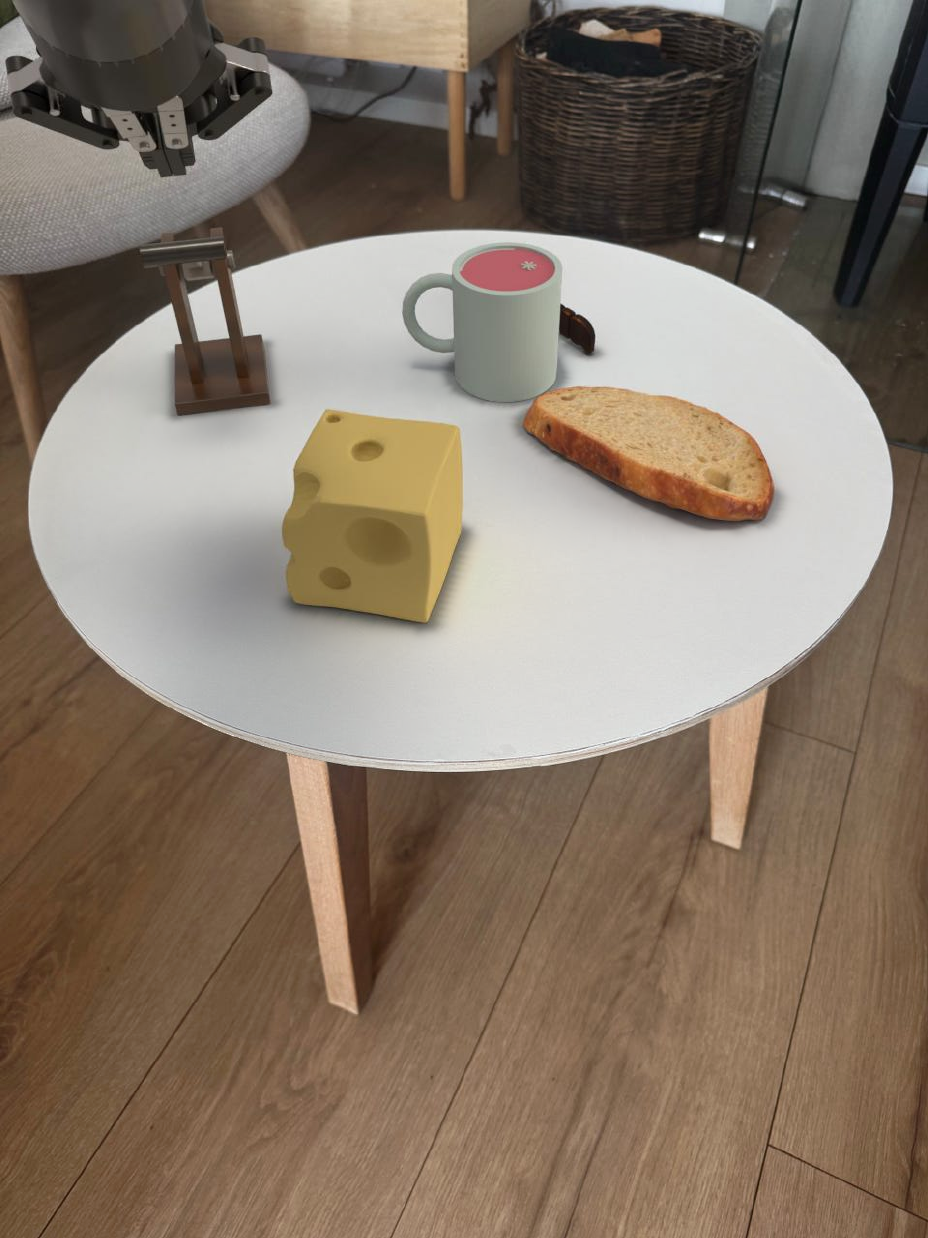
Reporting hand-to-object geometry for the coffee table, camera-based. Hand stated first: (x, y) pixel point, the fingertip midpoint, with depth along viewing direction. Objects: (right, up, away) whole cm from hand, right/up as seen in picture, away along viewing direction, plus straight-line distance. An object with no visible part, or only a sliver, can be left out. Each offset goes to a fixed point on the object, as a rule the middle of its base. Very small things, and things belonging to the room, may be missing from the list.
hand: (170, 159), depth 57 cm
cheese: (+11, -23, +15) cm, 29 cm away
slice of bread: (+31, -14, +23) cm, 41 cm away
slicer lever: (-4, +1, +21) cm, 21 cm away
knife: (+24, +3, +39) cm, 46 cm away
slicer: (-5, -5, +33) cm, 33 cm away
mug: (+18, -4, +33) cm, 38 cm away
